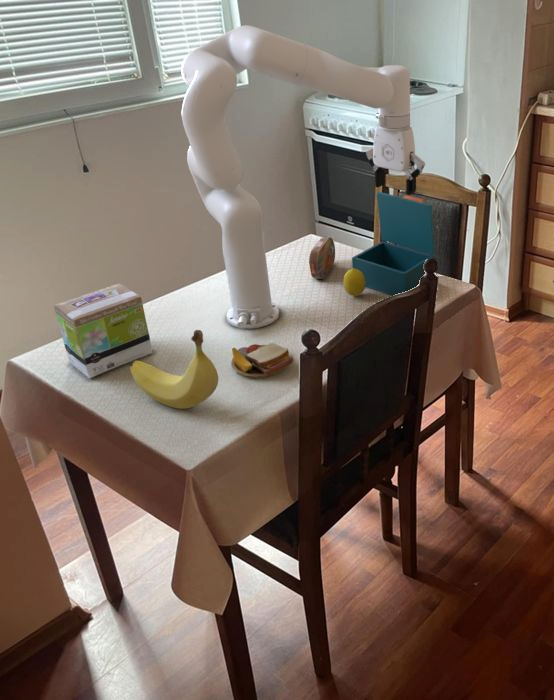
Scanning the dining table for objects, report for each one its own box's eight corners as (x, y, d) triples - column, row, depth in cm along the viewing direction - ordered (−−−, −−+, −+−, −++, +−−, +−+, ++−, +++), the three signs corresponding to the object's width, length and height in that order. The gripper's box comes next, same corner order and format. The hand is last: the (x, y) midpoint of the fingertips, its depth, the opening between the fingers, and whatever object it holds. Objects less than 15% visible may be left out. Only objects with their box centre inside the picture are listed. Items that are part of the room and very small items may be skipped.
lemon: (357, 303, 182) (356, 275, 178) (339, 298, 185) (338, 269, 180) (370, 295, 186) (368, 266, 182) (352, 289, 189) (351, 262, 184)
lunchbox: (405, 299, 184) (404, 274, 180) (353, 282, 192) (351, 257, 188) (433, 281, 193) (434, 256, 189) (383, 265, 201) (382, 241, 198)
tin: (320, 284, 191) (317, 255, 187) (309, 283, 192) (306, 254, 188) (336, 260, 204) (335, 233, 199) (326, 259, 204) (324, 232, 200)
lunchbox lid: (430, 206, 180) (442, 197, 184) (376, 192, 189) (389, 184, 192) (433, 255, 189) (444, 245, 192) (381, 240, 197) (393, 231, 201)
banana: (127, 396, 148) (104, 310, 138) (148, 381, 153) (128, 298, 142) (211, 428, 139) (194, 339, 129) (231, 412, 144) (216, 325, 133)
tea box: (90, 380, 153) (72, 320, 145) (69, 363, 159) (50, 304, 151) (154, 353, 162) (141, 294, 155) (132, 337, 168) (118, 280, 160)
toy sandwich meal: (273, 343, 166) (271, 325, 163) (302, 369, 157) (300, 350, 154) (222, 361, 160) (219, 342, 157) (249, 389, 150) (246, 370, 148)
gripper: (356, 118, 175) (359, 187, 184) (414, 129, 166) (414, 201, 175) (375, 112, 180) (377, 179, 189) (432, 123, 172) (432, 192, 181)
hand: (395, 189), depth 182 cm, fingers open, 9 cm apart
